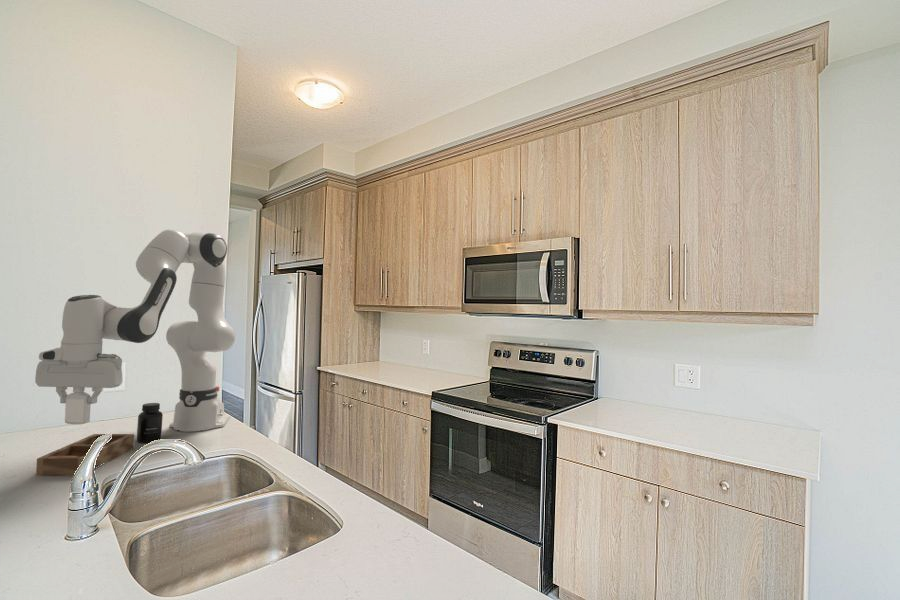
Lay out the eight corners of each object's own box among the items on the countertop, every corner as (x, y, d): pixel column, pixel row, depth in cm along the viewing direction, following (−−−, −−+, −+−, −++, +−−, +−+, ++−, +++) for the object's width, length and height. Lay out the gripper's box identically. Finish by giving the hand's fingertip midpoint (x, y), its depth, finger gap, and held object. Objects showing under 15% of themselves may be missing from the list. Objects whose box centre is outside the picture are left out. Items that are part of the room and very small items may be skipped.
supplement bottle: (148, 444, 141) (150, 407, 141) (131, 442, 142) (132, 405, 142) (166, 438, 148) (168, 402, 148) (149, 436, 149) (151, 401, 149)
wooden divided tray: (93, 448, 135) (94, 433, 135) (133, 448, 137) (133, 433, 137) (36, 475, 114) (36, 457, 114) (83, 475, 115) (84, 457, 115)
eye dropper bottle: (71, 426, 117) (73, 382, 117) (62, 422, 120) (65, 379, 120) (91, 422, 121) (93, 379, 121) (82, 419, 124) (84, 377, 124)
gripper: (128, 353, 125) (126, 401, 125) (50, 350, 123) (48, 400, 122) (114, 355, 119) (111, 406, 119) (32, 353, 116) (29, 405, 116)
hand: (78, 403), depth 120 cm, fingers closed on eye dropper bottle, 5 cm apart
